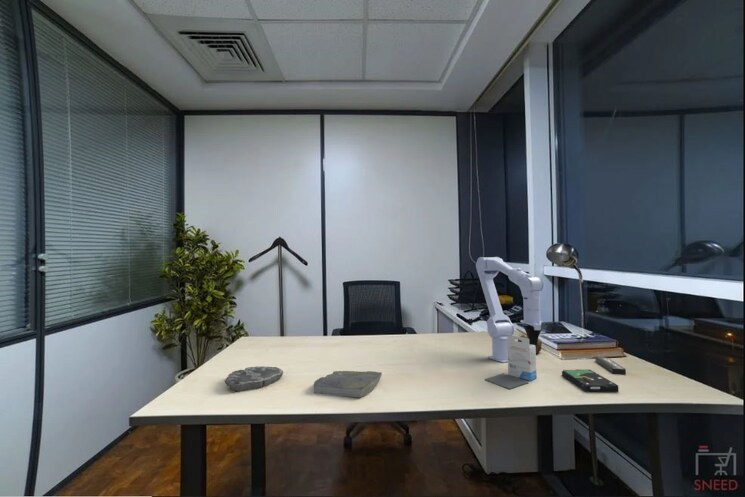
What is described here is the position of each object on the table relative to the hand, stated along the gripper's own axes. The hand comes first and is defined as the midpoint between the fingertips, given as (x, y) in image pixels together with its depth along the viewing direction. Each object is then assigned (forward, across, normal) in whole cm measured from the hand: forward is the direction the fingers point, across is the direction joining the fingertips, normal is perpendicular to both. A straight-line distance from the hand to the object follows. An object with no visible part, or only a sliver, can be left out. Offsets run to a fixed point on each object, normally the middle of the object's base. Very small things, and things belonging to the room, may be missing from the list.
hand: (532, 345), depth 121 cm
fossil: (+11, +24, -65) cm, 70 cm away
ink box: (+10, +5, -5) cm, 12 cm away
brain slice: (+10, +27, -100) cm, 104 cm away
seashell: (+10, -29, +6) cm, 31 cm away
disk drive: (+11, +8, +15) cm, 20 cm away
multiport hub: (+11, -11, +30) cm, 34 cm away
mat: (+10, +11, -12) cm, 19 cm away
